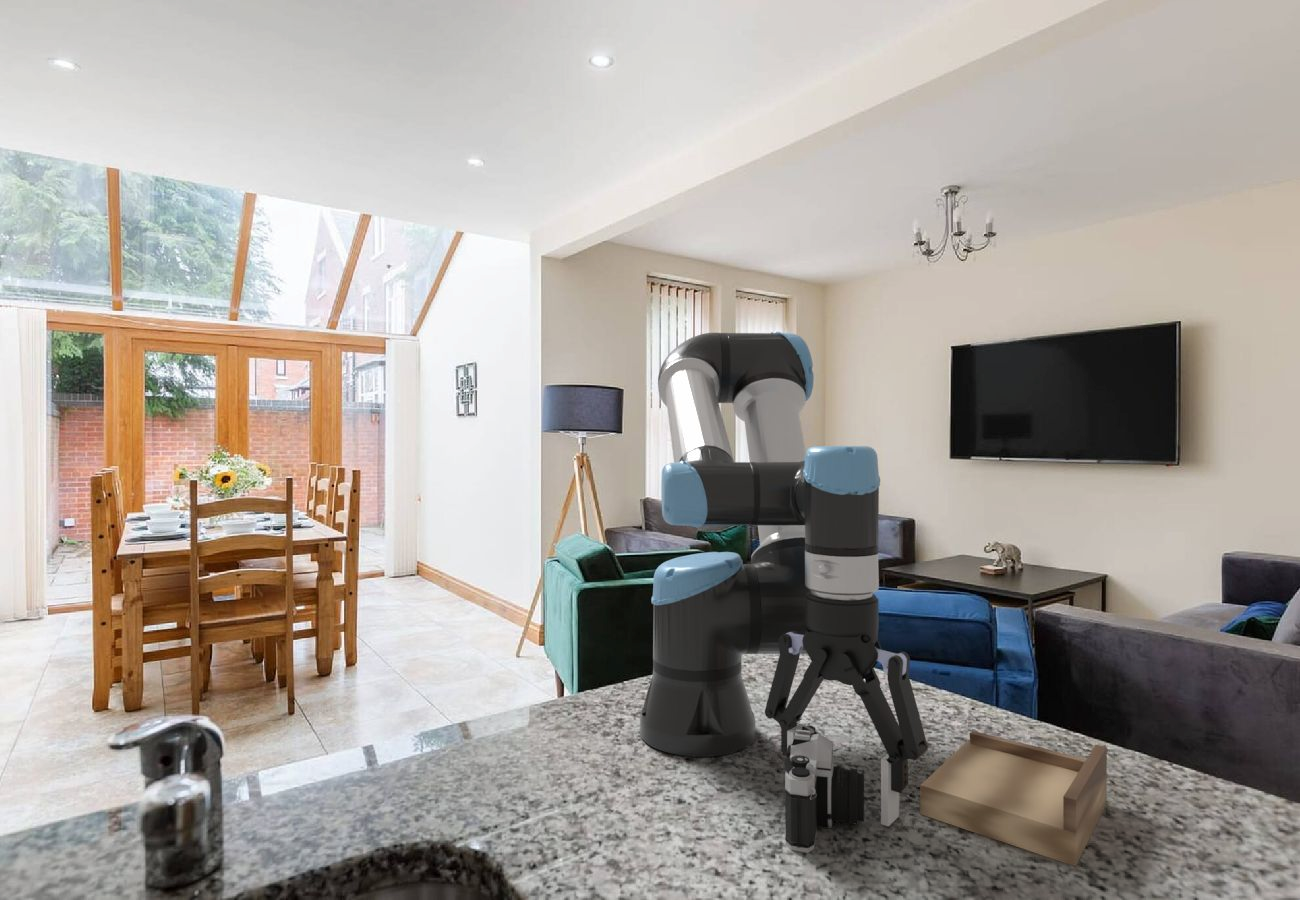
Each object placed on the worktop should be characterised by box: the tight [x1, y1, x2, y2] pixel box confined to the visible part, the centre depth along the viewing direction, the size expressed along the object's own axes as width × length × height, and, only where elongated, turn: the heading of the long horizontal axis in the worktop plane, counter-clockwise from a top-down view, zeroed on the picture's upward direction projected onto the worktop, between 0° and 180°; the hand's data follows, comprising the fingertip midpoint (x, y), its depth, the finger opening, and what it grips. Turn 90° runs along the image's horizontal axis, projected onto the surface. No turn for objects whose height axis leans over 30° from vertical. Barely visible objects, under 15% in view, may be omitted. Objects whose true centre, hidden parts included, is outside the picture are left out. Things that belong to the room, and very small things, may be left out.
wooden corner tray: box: [919, 730, 1108, 867], centre depth 75 cm, size 14×15×6 cm
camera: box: [783, 725, 865, 854], centre depth 73 cm, size 13×8×9 cm, turn 165°
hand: (841, 802), depth 76 cm, fingers open, 10 cm apart
